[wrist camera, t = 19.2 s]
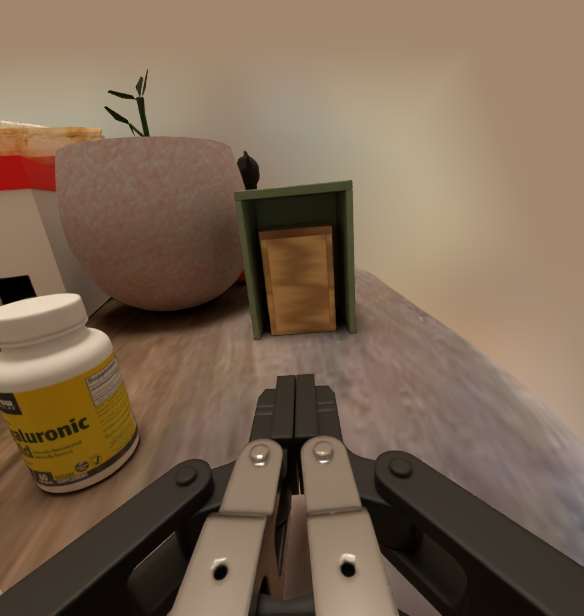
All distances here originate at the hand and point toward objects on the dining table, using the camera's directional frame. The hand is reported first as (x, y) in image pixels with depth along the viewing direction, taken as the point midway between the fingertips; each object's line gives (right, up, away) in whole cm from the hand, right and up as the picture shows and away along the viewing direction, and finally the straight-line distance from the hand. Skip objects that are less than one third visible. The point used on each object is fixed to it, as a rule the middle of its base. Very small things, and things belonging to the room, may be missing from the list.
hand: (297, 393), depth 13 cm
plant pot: (-17, +4, +34) cm, 38 cm away
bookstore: (-43, +4, +42) cm, 60 cm away
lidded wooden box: (+1, +2, +24) cm, 24 cm away
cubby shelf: (+1, +2, +24) cm, 24 cm away
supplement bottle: (-12, -6, +6) cm, 15 cm away
